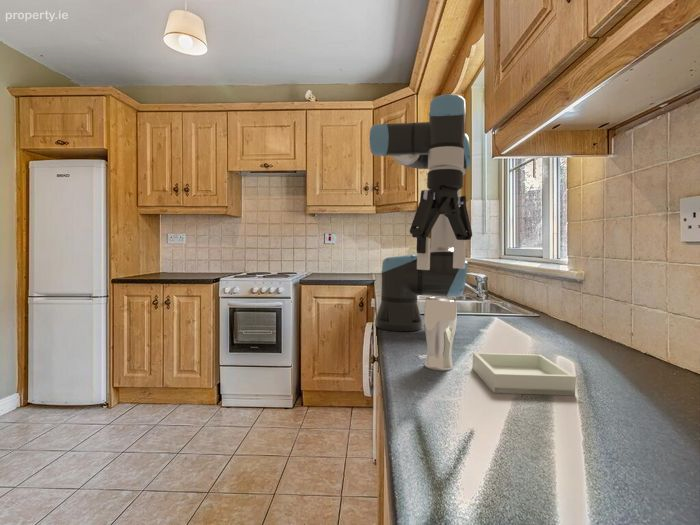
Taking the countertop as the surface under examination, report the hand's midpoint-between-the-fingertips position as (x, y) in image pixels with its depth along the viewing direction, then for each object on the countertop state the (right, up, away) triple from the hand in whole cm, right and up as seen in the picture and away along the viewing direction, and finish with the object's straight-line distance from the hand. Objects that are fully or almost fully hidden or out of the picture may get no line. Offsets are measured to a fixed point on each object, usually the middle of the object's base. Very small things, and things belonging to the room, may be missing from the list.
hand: (441, 269), depth 89 cm
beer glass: (0, -22, +1) cm, 22 cm away
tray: (+14, -22, -7) cm, 27 cm away
